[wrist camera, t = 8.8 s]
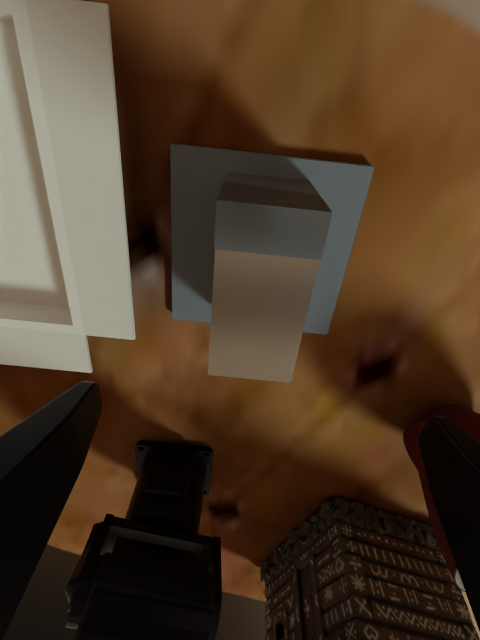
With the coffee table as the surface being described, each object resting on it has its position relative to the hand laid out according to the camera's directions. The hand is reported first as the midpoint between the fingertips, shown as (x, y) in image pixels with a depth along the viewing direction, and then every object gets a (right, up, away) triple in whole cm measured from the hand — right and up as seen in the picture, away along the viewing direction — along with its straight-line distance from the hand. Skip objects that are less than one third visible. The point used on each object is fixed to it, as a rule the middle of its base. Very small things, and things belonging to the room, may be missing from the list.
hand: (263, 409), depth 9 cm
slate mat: (+1, +7, +11) cm, 12 cm away
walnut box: (0, +6, +10) cm, 12 cm away
